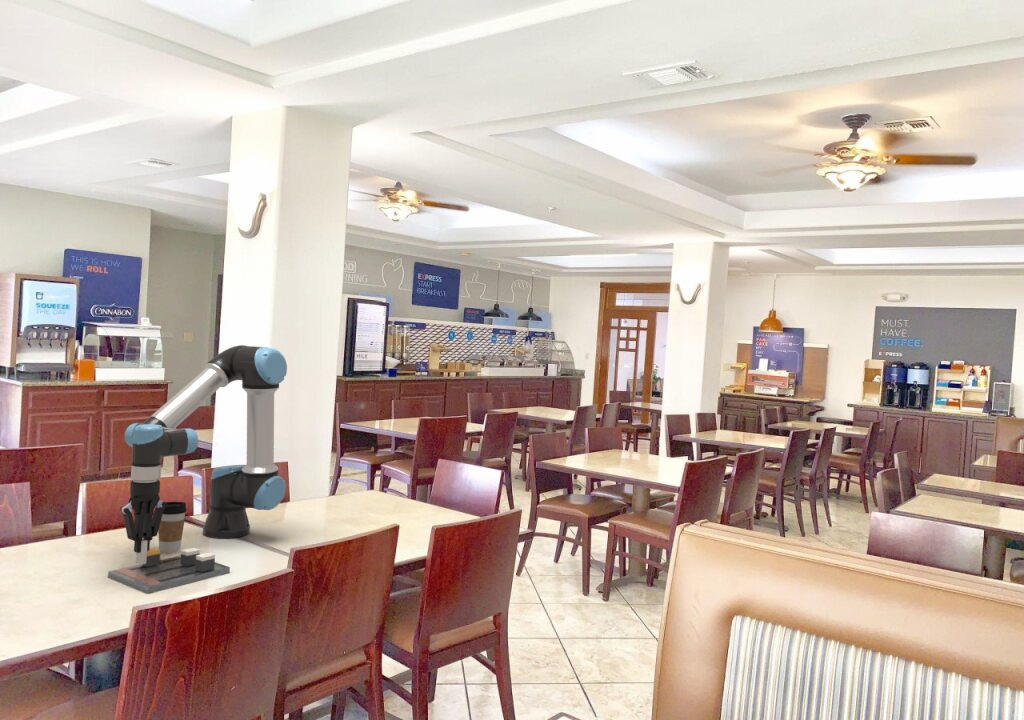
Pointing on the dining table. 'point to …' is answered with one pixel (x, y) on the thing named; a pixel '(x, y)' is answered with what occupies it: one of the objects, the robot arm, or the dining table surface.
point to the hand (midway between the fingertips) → (141, 563)
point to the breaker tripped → (152, 557)
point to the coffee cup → (171, 527)
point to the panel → (163, 575)
